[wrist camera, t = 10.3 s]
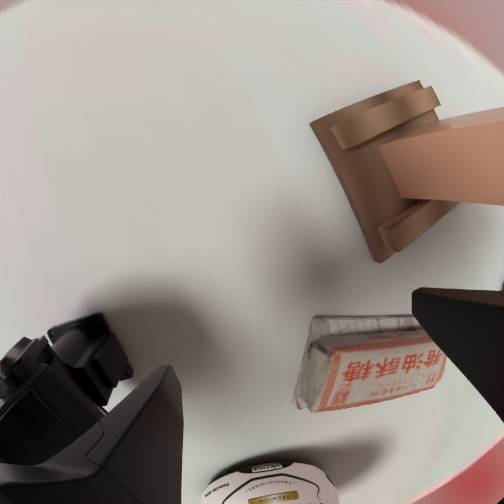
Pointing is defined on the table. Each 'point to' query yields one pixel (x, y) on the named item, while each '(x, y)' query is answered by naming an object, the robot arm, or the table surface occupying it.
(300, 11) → the table surface
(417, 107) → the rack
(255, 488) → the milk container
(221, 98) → the table surface
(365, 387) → the packaged product
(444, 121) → the clay bar
